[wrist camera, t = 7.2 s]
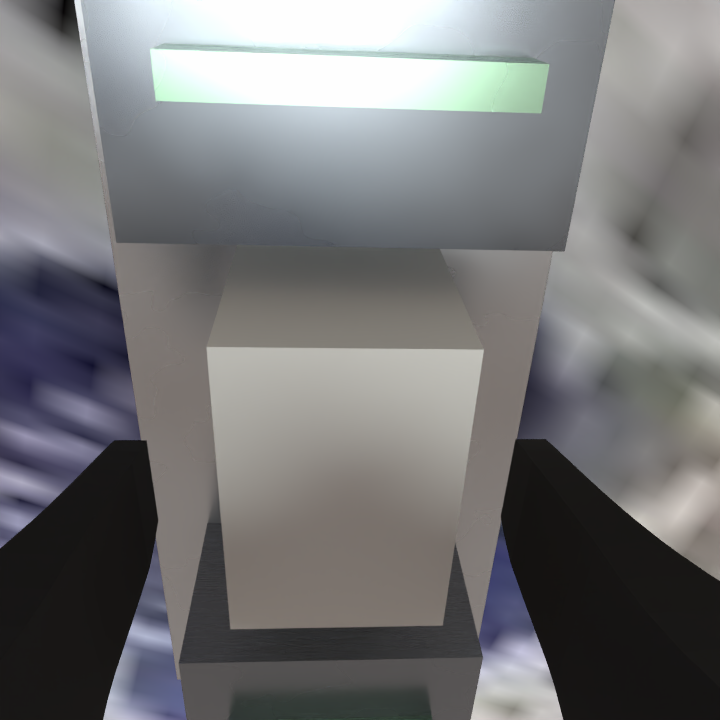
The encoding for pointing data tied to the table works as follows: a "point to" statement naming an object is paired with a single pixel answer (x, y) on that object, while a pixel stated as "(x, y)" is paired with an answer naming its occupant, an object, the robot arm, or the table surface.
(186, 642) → the rail station
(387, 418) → the block
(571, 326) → the table surface
